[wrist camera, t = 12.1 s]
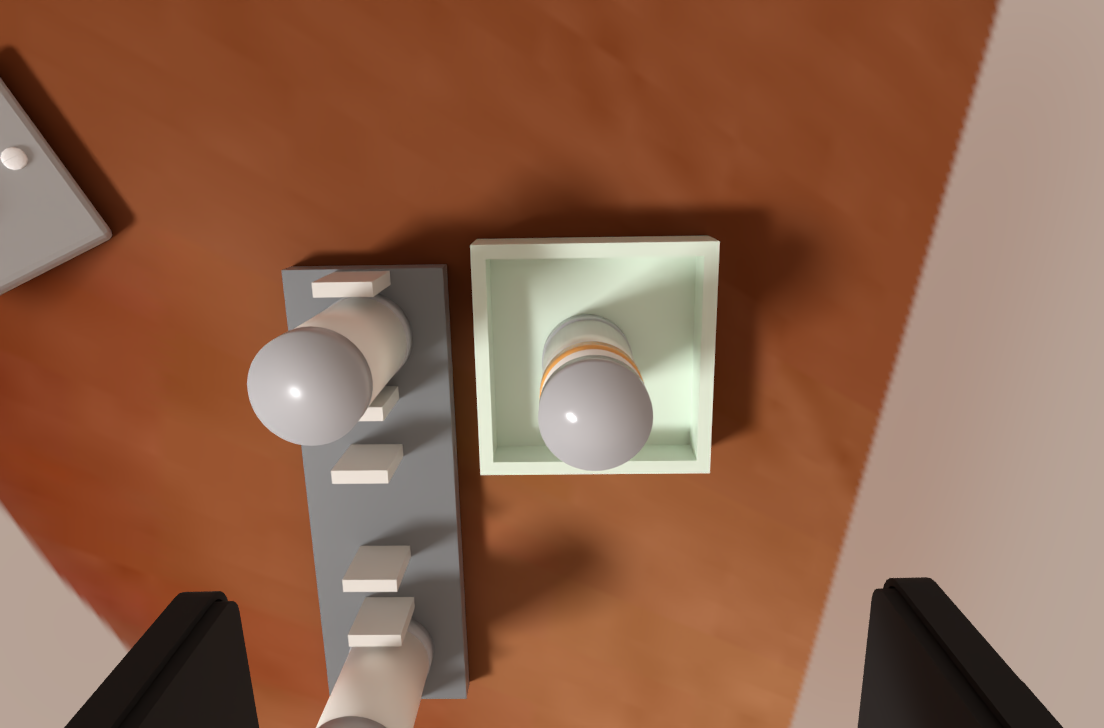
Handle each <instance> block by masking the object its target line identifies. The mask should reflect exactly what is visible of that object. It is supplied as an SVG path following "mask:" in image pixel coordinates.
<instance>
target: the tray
mask: <svg viewBox="0 0 1104 728" xmlns="http://www.w3.org/2000/svg"><path fill="white" fill-rule="evenodd" d="M719 248H720V241H718V240H716V239H714V238H712V237H710V236H708V235H703V236H636V237H569V238H502V239H476V240H475V241H474V242H473V243H472V244H470V257H471V279H472V301H473V323H474V345H475V367H476V389H477V411H478V433H479V455H480V475H542V474H663V473H710V456H711V433H712V410H713V387H714V364H715V341H716V318H717V295H718V271H719ZM581 314H593V315H599V316H602V317H604V318H607V319H609V320H610V321H612V322H613V323H615V324H616V325H617V326H618V327H619V328H620V329H621V330H622V331H623V333H624V334H625V336H626V338H627V340H628V343H629V345H630V348H631V351H632V356H633V359H634V361H635V364H636V365H637V367H638V369H639V371H640V374H641V376H642V379H643V382H644V385H645V387H646V389H647V392H648V394H649V397H650V400H651V403H652V408H653V425H652V429H651V432H650V435H649V437H648V440H647V441H646V443H645V445H644V446H643V447H642V449H641V450H640V451H639V452H638V453H637V454H636V455H635V456H634V457H633V458H632V459H630V460H629V461H627V462H626V463H624V464H622V465H620V466H618V467H615V468H612V469H608V470H602V471H587V470H582V469H578V468H575V467H572V466H570V465H568V464H566V463H564V462H563V461H561V460H560V459H559V458H557V457H556V456H555V455H554V454H553V453H552V452H551V451H550V450H549V448H548V447H547V445H546V444H545V442H544V440H543V438H542V435H541V433H540V429H539V423H538V412H539V398H540V384H541V379H542V372H543V370H542V355H543V348H544V344H545V341H546V339H547V337H548V335H549V334H550V333H551V331H552V330H553V329H554V328H555V327H556V326H557V325H558V324H559V323H561V322H562V321H564V320H565V319H568V318H570V317H572V316H576V315H581Z"/></svg>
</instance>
